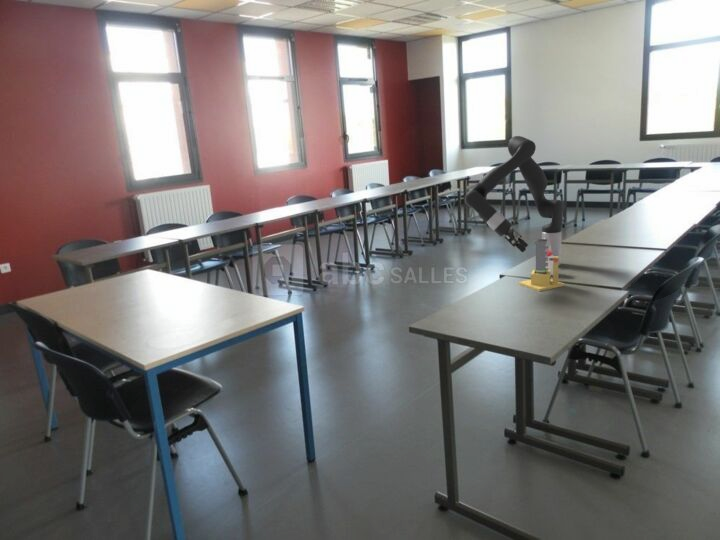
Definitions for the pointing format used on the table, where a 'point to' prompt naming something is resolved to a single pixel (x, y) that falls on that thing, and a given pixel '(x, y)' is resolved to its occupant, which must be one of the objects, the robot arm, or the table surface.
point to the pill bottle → (550, 263)
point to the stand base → (544, 278)
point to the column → (541, 256)
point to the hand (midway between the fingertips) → (525, 248)
